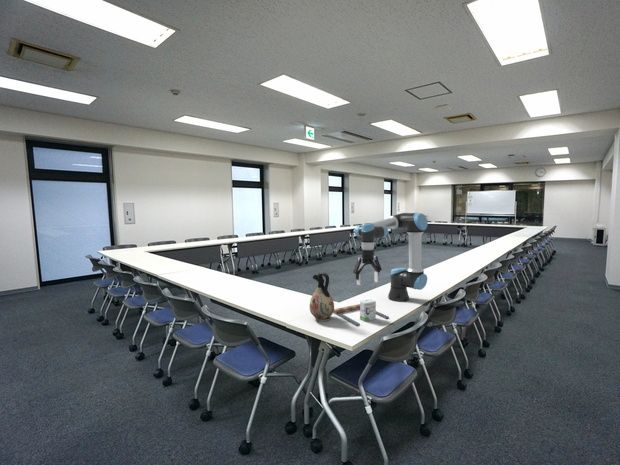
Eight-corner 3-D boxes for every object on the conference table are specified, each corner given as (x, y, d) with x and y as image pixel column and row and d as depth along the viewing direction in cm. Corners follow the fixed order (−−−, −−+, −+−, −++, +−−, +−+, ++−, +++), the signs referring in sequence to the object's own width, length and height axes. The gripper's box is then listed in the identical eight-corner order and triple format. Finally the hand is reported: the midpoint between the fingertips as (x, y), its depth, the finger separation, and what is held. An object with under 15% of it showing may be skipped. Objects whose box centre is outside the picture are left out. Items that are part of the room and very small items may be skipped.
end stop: (363, 306, 207) (363, 303, 207) (366, 308, 205) (366, 304, 205) (333, 313, 196) (333, 309, 196) (335, 314, 193) (335, 310, 193)
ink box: (371, 317, 188) (371, 298, 187) (376, 319, 183) (376, 301, 182) (359, 319, 185) (359, 300, 184) (364, 322, 180) (364, 302, 179)
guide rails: (366, 308, 205) (366, 306, 205) (388, 318, 185) (388, 316, 185) (335, 314, 193) (335, 312, 193) (356, 326, 174) (356, 324, 174)
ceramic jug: (304, 319, 186) (303, 271, 183) (321, 312, 197) (321, 268, 194) (324, 326, 174) (324, 276, 171) (341, 319, 184) (341, 271, 182)
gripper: (379, 247, 190) (379, 279, 191) (347, 249, 178) (347, 284, 180) (387, 248, 183) (387, 282, 185) (354, 251, 171) (354, 287, 173)
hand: (367, 283), depth 182 cm, fingers open, 13 cm apart
